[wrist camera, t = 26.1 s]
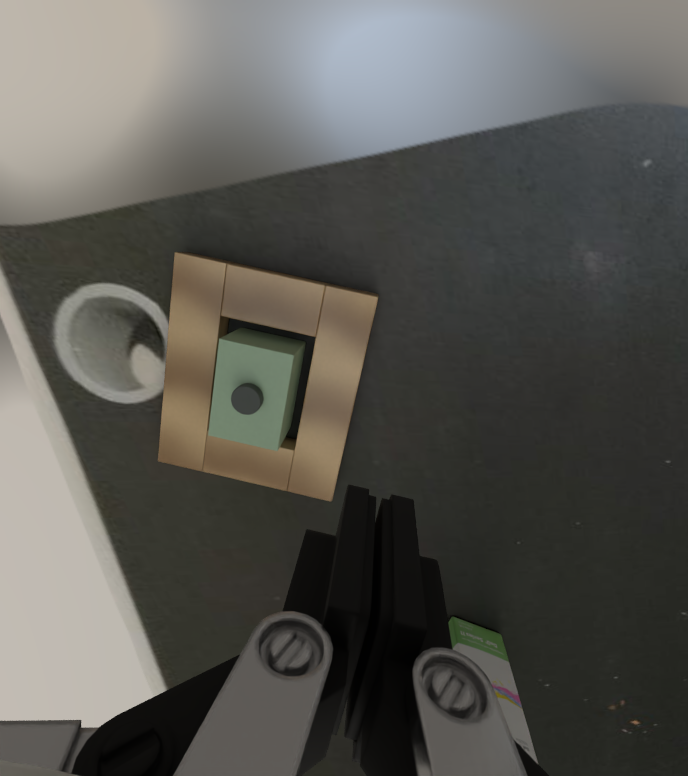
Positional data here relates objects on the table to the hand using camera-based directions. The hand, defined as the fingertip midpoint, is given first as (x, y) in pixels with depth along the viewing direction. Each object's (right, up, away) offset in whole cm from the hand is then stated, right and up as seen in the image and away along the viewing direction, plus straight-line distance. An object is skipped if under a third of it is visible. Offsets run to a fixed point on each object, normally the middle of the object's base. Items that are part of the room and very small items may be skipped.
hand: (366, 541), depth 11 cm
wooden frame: (-7, +5, +22) cm, 24 cm away
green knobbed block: (-6, +5, +22) cm, 24 cm away
